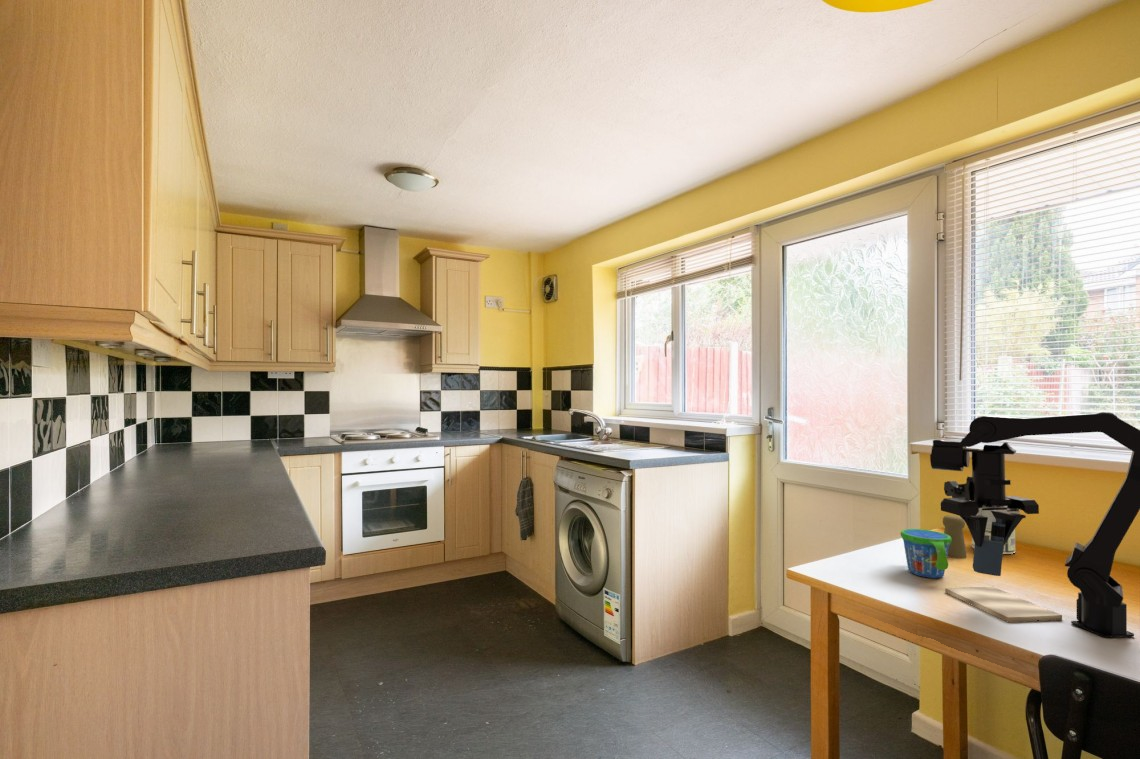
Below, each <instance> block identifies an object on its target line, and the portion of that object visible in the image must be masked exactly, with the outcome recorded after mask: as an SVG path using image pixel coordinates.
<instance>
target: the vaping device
mask: <svg viewBox="0 0 1140 759" xmlns="http://www.w3.org/2000/svg"><path fill="white" fill-rule="evenodd" d="M1005 525H1006V524H1003V523H1002V519H999V518H996V522H992V527H991V537H990V536H989V535H986V534H985V535H984V540H983V544H982V547H978V546H976V545H975V547H974V548H973V556H972V557H973V559H972V568H973V572H975V573H978V574H983V575H989V576H995V577H1001V576H1002V567H1003V566H1002V565H1003V551H1004V536H1005ZM989 537H990V539H989Z"/></svg>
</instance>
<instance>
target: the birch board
mask: <svg viewBox="0 0 1140 759" xmlns="http://www.w3.org/2000/svg"><path fill="white" fill-rule="evenodd" d="M944 593H946V594H947V593H948V594H947V595H949V594H950V595H949V596H952V597H953V598H955V599H958V598H959V599H958V600H960V599H961V600H960V601H962V600H963V602H964V601H965V603H966V602H968V603H970V604H969V605H971V604H972V605H971V606H973V605H974V606H973V607H975V606H976V607H975V608H977V607H978V608H977V609H979V608H980V610H981V609H983V610H984V612H985V611H986V613H988V614H990V615H992V616H994V617H996V616H997V617H996V618H998V617H999V618H998V619H1000V618H1001V619H1000V620H1002V619H1003V620H1002V621H1004V620H1006V621H1005V622H1007V621H1008V622H1007V623H1019V622H1018V621H1030V622H1046V621H1047V622H1050V621H1051V622H1052V621H1053V622H1054V621H1063V614H1060V613H1059V612H1055V611H1054V610H1051V609H1049V608H1046V607H1044V606H1041V605H1039V604H1036V603H1034V602H1032V601H1029V600H1026V599H1024V598H1022V597H1020V596H1017V595H1014V594H1012V593H1010V592H1007V591H1005V590H1002V589H1000V588H997V587H995V586H968V587H967V586H965V587H945V589H944ZM968 603H967V604H968ZM983 610H982V611H983ZM1037 620H1039V621H1037ZM1049 620H1050V621H1049Z"/></svg>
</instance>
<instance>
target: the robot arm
mask: <svg viewBox="0 0 1140 759" xmlns="http://www.w3.org/2000/svg"><path fill="white" fill-rule="evenodd" d="M968 429H969V430H968V431H969V432H968V433H967V434H966V435H965V436H964V437H963V438H961V441H958V440H957V441H955V440H943V439H937V438H936V439H932V447H931V453H930V455H929V458H930V459H929V461H930V467H931V469H932V470H941V471H951V472H952V471H955V472H963V471H964V468H969V467H970V461H971V475H970V476H967V477H966V482H965V483H958V481H956V480H948V481H945V482H943V491H944V494H945V496H947V497H946V498H945V497H944V498H943V499H942V500H941V501H940V511H942V512H945V513H948V514H951V515H955V516H959V517H961V518H962V519H963V520H964V521H965V525H966V526H967V528H968V530H969V533H970V536H971V539H972V538H973V540H974V542H975V545H976V546H978V547H982V544H983V540H984V535H985V530H986V525H987V520H988V517H985V516H982V510H991V512H992V514H993V516H994V517H995V519H996V518H999V519H1002V523H1003V524H1006V525H1005V536H1004V545H1005V543H1006V542H1007V540H1008V539H1009V537H1010V535H1011V534H1012V532H1013V531H1014V529H1015V530H1016V528H1017V526H1018V525H1019V524H1020V522H1021V521H1022V520H1023V519H1026V517H1027V516H1026V515H1035V514H1036V515H1038V514H1040V512H1039V511H1040V507H1039V504H1038V502H1037V500H1035V499H1032V498H1027V497H1026V498H1025V497H1021V496H1017V495H1016V496H1014V495H1013V496H1012V495H1011V496H1009V495H1008V496H1006V486H1010V485H1011V479H1007V478H1006V464H1005V463H1006V461H1005V459H1006V458H1005V456H1006V455H1015V454H1016V453H1017V450H1016V449H1014V448H1013V447H1012V446H1011V445H1010V444H1009V443H1008V442H1007V440H1010V439H1016V438H1020V437H1025V436H1026V437H1027V436H1040V435H1041V436H1044V435H1045V436H1046V435H1047V436H1049V435H1064V434H1084V433H1085V434H1086V433H1103V434H1104V435H1106V436H1107V437H1109V438H1111V439H1113V440H1114V441H1116V442H1118V443H1119V444H1120V445H1122V446H1124V447H1126V449H1129V450H1130V451H1132V452H1131V456H1130V460H1129V463H1128V468H1127V471H1126V477H1125V478H1124V480H1123V482H1122V484H1121V486H1120V487H1119V489H1118V491H1117V493H1116V495H1115V497H1114V498H1113V499H1112V502H1111V503H1110V506H1109V507H1108V508H1107V511H1106V512H1105V514H1104V516H1103V518H1102V519H1101V522H1100V523H1099V525H1098V527H1097V528H1096V531H1094V534H1093V536H1092V537H1091V539H1090V540H1089V541H1088V542H1087V543H1085V544H1084V545H1082V544H1080V543H1079V542H1077V541H1076V542H1074V546H1073V551H1072V552H1071V554H1070V555H1068V556H1067V557H1066V558H1065V562H1064V563H1065V564H1064V567H1067V572H1066V574H1067V575H1066V576H1067V578H1068V581H1069V582H1070V583H1071V584H1072V585H1073V586H1074V587H1075V588H1077V589H1079V590H1080V592H1077V598H1076V602H1075V603H1076V620H1071V621H1070V622H1071V624H1072V625H1074V626H1077V627H1078V628H1081V629H1083V630H1085V631H1089V632H1091V633H1094V634H1095V635H1098V636H1100V637H1102V638H1107V639H1108V638H1109V639H1110V638H1126V637H1127V638H1128V637H1129V638H1130V637H1131V638H1132V637H1135V633H1134V632H1131V631H1128V629H1127V628H1128V626H1127V622H1128V621H1127V619H1128V618H1127V617H1128V616H1127V615H1128V614H1127V612H1128V611H1127V610H1128V609H1127V607H1128V606H1127V603H1125V602H1123V601H1124V591H1123V588H1124V587H1123V586H1122V585H1121V583H1119V582H1118V580H1116V579H1114V578H1113V577H1112V576H1111V572H1112V568H1113V564H1114V560H1115V555H1116V552H1117V550H1118V548H1119V546H1120V545H1121V543H1122V541H1123V540H1124V538H1125V536H1126V535H1127V532H1128V531H1129V529H1130V527H1131V526H1132V524H1133V522H1134V520H1135V519H1136V517H1137V515H1138V514H1139V511H1140V429H1139V428H1137V427H1135V426H1134V425H1131V424H1129V423H1128V422H1127V421H1124V420H1123V419H1121V418H1119V417H1118V415H1116V414H1114V413H1113V412H1109V411H1099V412H1096V413H1082V414H1069V415H1068V414H1066V415H1065V414H1064V415H1054V416H1053V415H1052V416H1050V415H1049V416H1038V417H1018V416H1017V417H1015V416H1013V417H1012V416H1002V415H983V416H978V417H976V418H974V419H973V420H972V421H971V422H970V425H969V428H968ZM1001 441H1005V442H1003V443H1002V445H993V444H989V443H997V442H1001ZM980 443H982V444H984V445H983V448H971V447H974V446H976V445H979V444H980ZM970 453H971V456H970ZM970 457H971V458H970ZM1011 486H1012V485H1011ZM971 500H972V501H971ZM993 505H996V506H993ZM1020 511H1022V512H1024V513H1025V514H1021V512H1020Z"/></svg>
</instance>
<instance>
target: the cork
mask: <svg viewBox="0 0 1140 759" xmlns="http://www.w3.org/2000/svg"><path fill="white" fill-rule="evenodd" d="M942 524H943V526H944V530H943V533H944V534H947V535H949V536H950V537H951V539H952V542H951V543H950V545H949V547H948V555H947V558H954V559H966V557H967V558H968V556H967V550H966V549H967V548H966V543H965V536H964V528H965V525H966V523H965V521H964V520H963V519H962V518H961V517H960V516H959V515H955V514H948V515H944V516H943V517H942Z"/></svg>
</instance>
